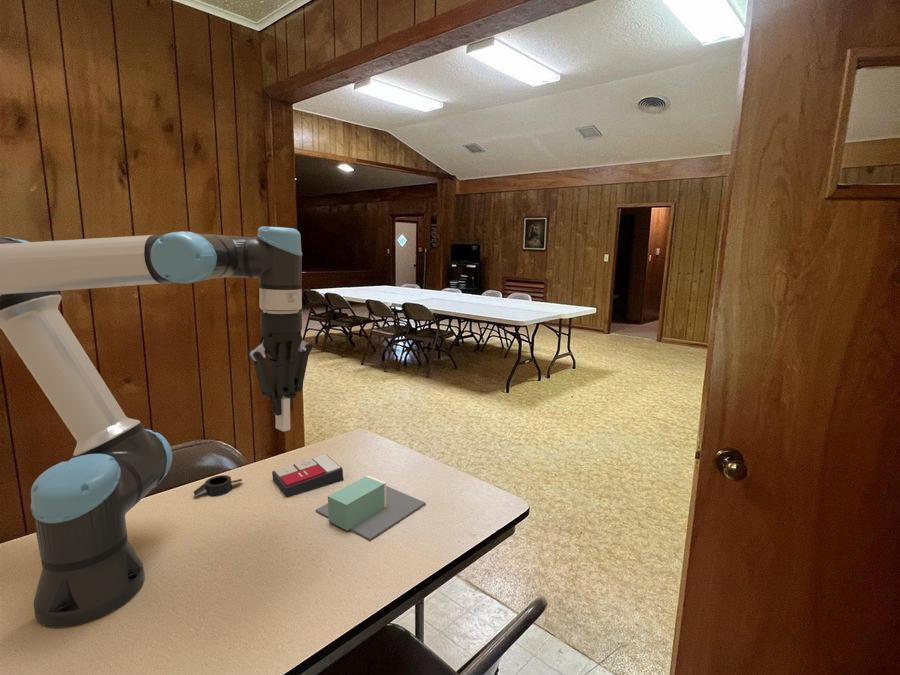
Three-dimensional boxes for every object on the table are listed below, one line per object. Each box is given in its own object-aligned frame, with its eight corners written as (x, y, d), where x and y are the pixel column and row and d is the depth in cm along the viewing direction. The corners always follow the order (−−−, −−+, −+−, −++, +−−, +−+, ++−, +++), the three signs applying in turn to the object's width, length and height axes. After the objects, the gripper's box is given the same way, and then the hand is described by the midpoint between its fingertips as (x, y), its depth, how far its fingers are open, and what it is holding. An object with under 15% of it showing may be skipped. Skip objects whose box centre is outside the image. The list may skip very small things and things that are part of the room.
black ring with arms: (203, 484, 119) (203, 474, 119) (244, 482, 121) (243, 472, 120) (191, 500, 112) (190, 489, 111) (235, 498, 113) (234, 487, 113)
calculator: (271, 468, 121) (325, 451, 130) (272, 483, 122) (327, 465, 131) (285, 485, 112) (342, 465, 121) (287, 501, 113) (344, 480, 122)
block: (327, 496, 102) (367, 475, 111) (328, 521, 103) (368, 498, 112) (346, 505, 98) (386, 482, 108) (347, 530, 99) (386, 506, 109)
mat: (315, 511, 107) (315, 509, 107) (372, 481, 121) (372, 480, 121) (370, 541, 97) (370, 539, 97) (425, 504, 111) (425, 502, 111)
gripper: (261, 316, 81) (264, 444, 85) (321, 310, 91) (321, 424, 95) (237, 311, 85) (241, 433, 89) (298, 306, 95) (299, 416, 100)
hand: (282, 428), depth 92 cm, fingers closed
